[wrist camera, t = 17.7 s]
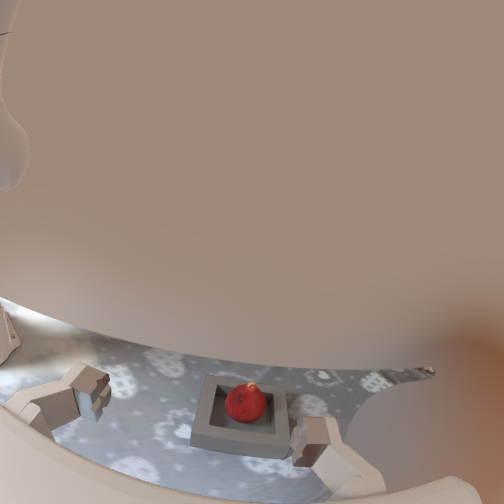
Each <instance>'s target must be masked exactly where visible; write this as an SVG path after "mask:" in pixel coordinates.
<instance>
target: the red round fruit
mask: <svg viewBox="0 0 504 504" xmlns="http://www.w3.org/2000/svg"><path fill="white" fill-rule="evenodd" d="M225 409H226V412H227V414H228V415H229V416H230V418H231V419H233V420H235V421H237V422H240V423H251V422H254V421H256V420H258V419H260V417H261V416H262V415H263V414H264V412H265V410H266V398H265V396H264V394H263V392H262V391H261V390H260V389H259V388H257V385H256V383H255V382H250V383H248V384H242V385H238V386H236V387H235V388H233V389H232V390H231V391H230V392H229V393H228V395H227V398H226V400H225Z"/></svg>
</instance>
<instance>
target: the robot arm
mask: <svg viewBox="0 0 504 504" xmlns="http://www.w3.org/2000/svg"><path fill="white" fill-rule="evenodd" d="M19 3H20V0H0V192H1V191H5V190H9V189H13V188H15V187H16V185H17V184H18V183H19V182H20V181H21V179H22V177H23V176H24V174H25V172H26V169H27V166H28V163H29V158H30V144H29V139H28V137H27V134H26V132H25V130H24V129H23V128H22V127H21V126H20V125H18V124H17V123H16V122H15V121H14V119H13V118H12V117H11V115H10V114H9V112H8V110H7V108H6V106H5V103H4V100H3V96H2V91H1V73H2V66H3V60H4V55H5V50H6V47H7V43H8V39H9V35H10V33H11V29H12V26H13V23H14V20H15V16H16V13H17V10H18V7H19ZM20 344H21V342H20V339H19V337H18V335H17V333H16V331H15V329H14V327H13V325H12V323H11V321H10V319H9V317H8V315H7V313H6V310H5V309H4V307H2V306H1V303H0V365H1V364H2V363H3V362H4V361H5V360H6V359H7V358H8V356H9V355H10V353H11V352H12V351H13V350H14V349H16V348H17V347H19V346H20ZM109 381H110V378H109V375H108V374H107V373H104V372H102V371H100V370H97V369H95V368H93V367H90V366H88V365H86V364H83V363H81V362H77V363H76V364H75V365H74V366H73V367H72V368H71V369H70V370H69V372H68V373H67V374H66V375H65V376H64V377H63V378H62V379H61V381H58V380H56V381H53V382H49V383H46V384H42V385H38V386H34V387H31V388H27V389H23V390H19V391H16V392H15V393H14V394H13V395H12V397H11V398H10V399H9V400H8V401H7V402H6V403H5V404H4V405H3V406H2V405H0V504H278V503H257V502H245V501H235V500H227V499H220V498H214V497H208V496H202V495H197V494H192V493H188V492H183V491H179V490H175V489H171V488H167V487H163V486H160V485H156V484H153V483H150V482H146V481H143V480H140V479H137V478H134V477H131V476H129V475H126V474H123V473H120V472H118V471H115V470H113V469H110V468H108V467H105V466H103V465H101V464H98V463H96V462H94V461H92V460H90V459H87V458H85V457H83V456H81V455H79V454H77V453H75V452H73V451H71V450H69V449H67V448H66V447H64V446H62V445H60V444H58V443H57V442H55V439H54V437H53V435H52V433H51V431H52V430H54V429H56V428H58V427H60V426H62V425H65V424H67V423H69V422H71V421H73V420H75V419H77V418H79V417H80V416H82V417H84V418H87V419H89V420H91V421H94V422H96V423H97V422H98V420H99V418H100V417H101V415H102V413H103V412H102V408H104V407H106V406H107V405H108V403H109V401H110V398H111V387H110V386H109V384H108V382H109ZM297 425H298V426H296V427H294V429H293V431H292V433H291V438H290V446H291V448H292V449H293V450H294V451H293V453H292V455H291V456H292V465H293V466H294V467H312V469H313V470H314V472H315V473H316V474H317V475H318V477H319V478H320V479H321V480H322V481H323V483H324V484H325V485H326V486H327V487H328V488H329V490H330V491H331V492H332V493H333V495H332V496H331V497H330V498H328V499H327V500H326V501H325V502H323V503H302V504H483V503H482V501H481V498H480V496H479V494H478V492H477V490H476V489H475V488H474V487H473V486H472V485H471V484H469V483H468V482H466V481H464V480H462V479H460V478H458V477H456V476H454V475H450V476H446V477H443V478H440V479H437V480H434V481H431V482H428V483H425V484H422V485H418V486H415V487H411V488H408V489H404V490H400V491H396V492H391V493H388V492H387V489H386V486H385V483H384V480H383V477H382V474H381V472H380V471H378V470H377V469H376V468H374V467H373V466H372V465H371V464H369V463H368V462H367V461H366V460H364V459H363V458H362V457H361V456H360V455H358V454H357V453H356V452H355V451H354V450H352V449H351V448H350V447H349V446H348V445H346V444H343V442H342V438H341V435H340V432H339V428H338V425H337V422H336V419H335V418H334V417H311V416H300V417H299V419H298V421H297Z"/></svg>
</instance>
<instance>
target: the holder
mask: <svg viewBox="0 0 504 504" xmlns="http://www.w3.org/2000/svg"><path fill="white" fill-rule="evenodd" d="M248 383H250V382H246V381H240V380H234V379H229V378H223V377H218V376H213V375H209V374H207V375H206V379H205V382H204V386H203V390H202V393H201V397H200V401H199V405H198V408H197V412H196V416H195V420H194V423H193V427H192V431H191V439H190V446H192V447H197V448H202V449H207V450H212V451H217V452H223V453H229V454H236V455H243V456H251V457H261V458H272V459H284V458H285V456H286V455H287V453H288V451H289V449H290V447H291V446H290V431H289V421H288V412H287V403H286V393H285V387H280V386H272V385H265V384H258V383H256V385H257V388H259V389H260V390H261V391H262V392H263V394H264V396H265V398H266V410H265V412H264V414H263V415H262V416H261V417H260V419H258V420H256V421H254V422H251V423H240V422H237V421H235V420H233V419H231V418H230V416H229V415H228V414H227V412H226V409H225V400H226V398H227V395H228V393H229V392H230V391H231V390H232V389H233V388H235V387H236V386H238V385H242V384H248Z"/></svg>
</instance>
